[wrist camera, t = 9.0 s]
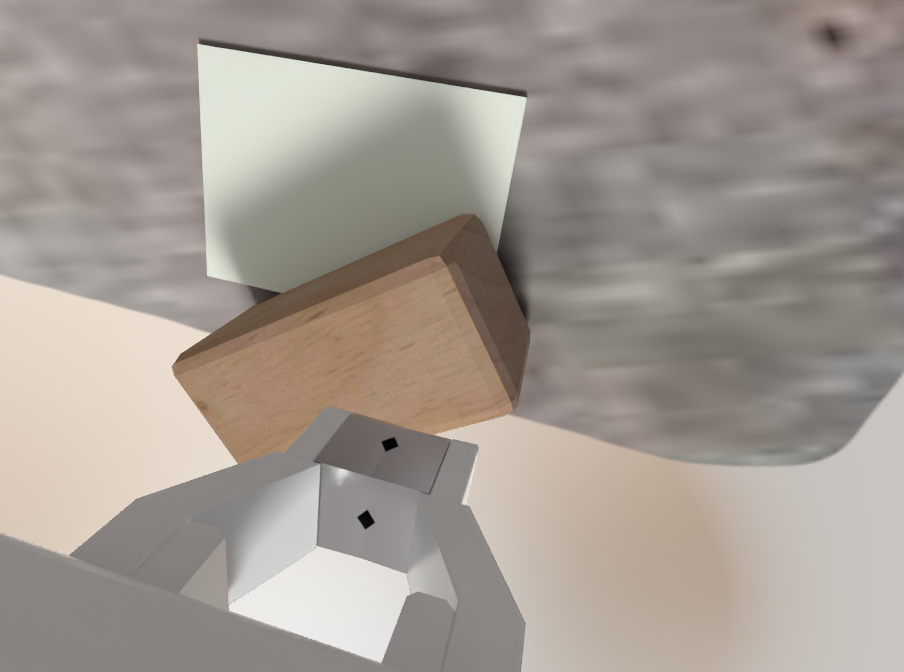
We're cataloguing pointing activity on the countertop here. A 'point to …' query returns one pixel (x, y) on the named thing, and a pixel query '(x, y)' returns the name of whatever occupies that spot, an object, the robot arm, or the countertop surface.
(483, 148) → the mat
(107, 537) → the robot arm
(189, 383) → the wooden block
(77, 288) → the countertop surface
